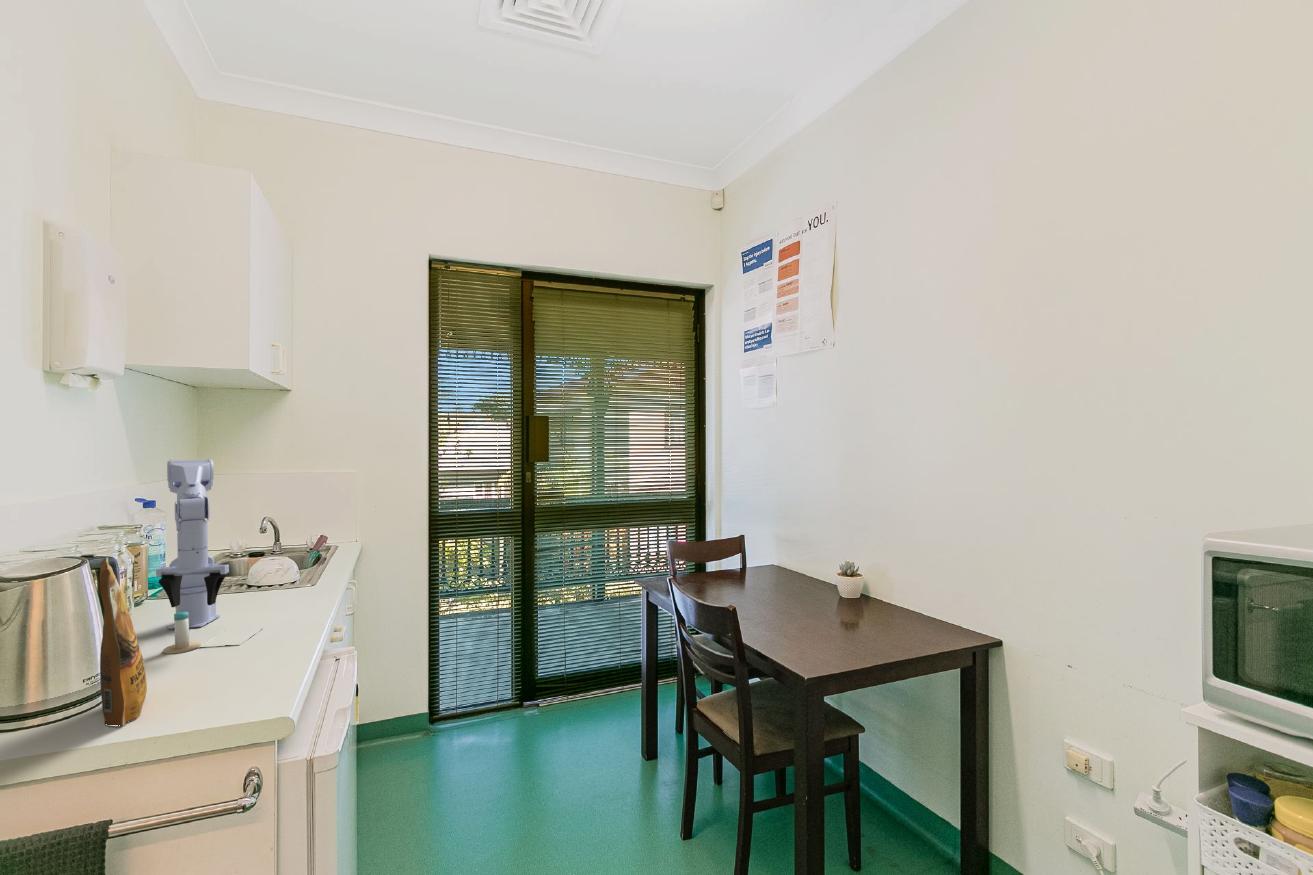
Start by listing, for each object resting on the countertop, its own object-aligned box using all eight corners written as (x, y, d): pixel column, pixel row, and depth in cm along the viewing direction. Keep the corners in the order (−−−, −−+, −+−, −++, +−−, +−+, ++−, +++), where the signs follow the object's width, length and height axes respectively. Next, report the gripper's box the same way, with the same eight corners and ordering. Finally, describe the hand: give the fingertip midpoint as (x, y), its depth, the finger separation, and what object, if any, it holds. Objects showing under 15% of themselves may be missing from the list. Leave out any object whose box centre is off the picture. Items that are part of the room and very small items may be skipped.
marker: (179, 645, 142) (178, 612, 142) (191, 644, 143) (191, 611, 142) (172, 649, 139) (171, 615, 139) (185, 648, 140) (184, 614, 140)
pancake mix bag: (85, 738, 100) (83, 571, 99) (105, 697, 115) (102, 553, 115) (139, 726, 103) (136, 566, 103) (150, 688, 119) (148, 549, 119)
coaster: (174, 644, 144) (174, 642, 144) (207, 642, 145) (207, 640, 145) (156, 655, 137) (156, 653, 137) (190, 652, 138) (190, 651, 138)
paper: (224, 631, 153) (224, 630, 153) (263, 629, 155) (263, 628, 155) (197, 648, 141) (197, 647, 141) (239, 645, 143) (239, 644, 143)
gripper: (147, 553, 137) (148, 612, 137) (217, 550, 140) (218, 608, 140) (166, 547, 144) (167, 603, 144) (233, 544, 147) (234, 599, 147)
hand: (193, 605), depth 142 cm, fingers open, 7 cm apart
